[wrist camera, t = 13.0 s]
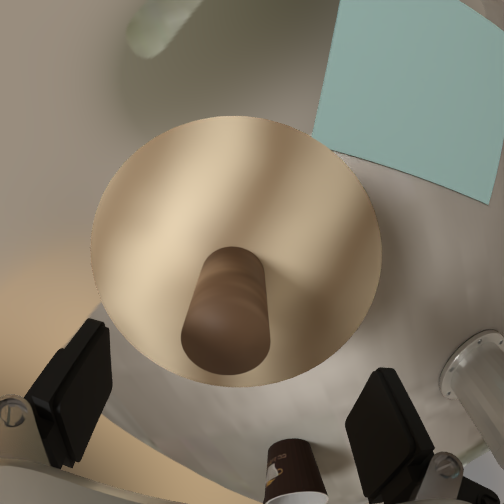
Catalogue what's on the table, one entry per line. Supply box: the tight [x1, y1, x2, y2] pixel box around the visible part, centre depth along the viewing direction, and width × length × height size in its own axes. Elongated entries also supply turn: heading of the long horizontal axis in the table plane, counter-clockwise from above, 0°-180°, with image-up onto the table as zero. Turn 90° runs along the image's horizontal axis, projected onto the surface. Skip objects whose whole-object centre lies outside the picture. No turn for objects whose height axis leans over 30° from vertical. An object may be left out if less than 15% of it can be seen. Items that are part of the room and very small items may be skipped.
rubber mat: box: [312, 0, 504, 205], centre depth 24 cm, size 22×22×1 cm
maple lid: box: [90, 116, 382, 387], centre depth 16 cm, size 17×17×7 cm
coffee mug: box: [263, 439, 328, 504], centre depth 37 cm, size 12×9×10 cm
